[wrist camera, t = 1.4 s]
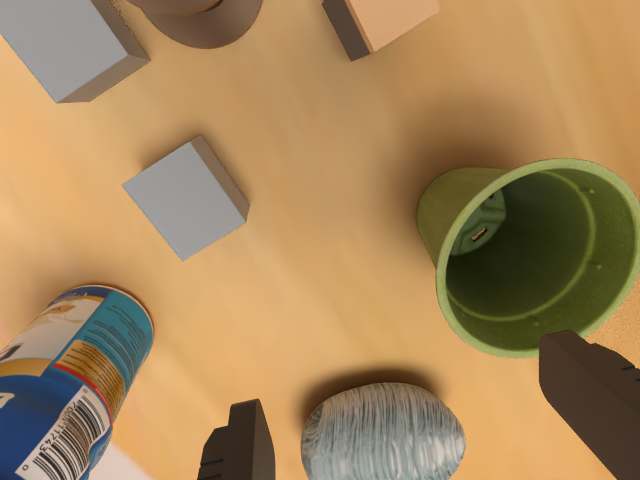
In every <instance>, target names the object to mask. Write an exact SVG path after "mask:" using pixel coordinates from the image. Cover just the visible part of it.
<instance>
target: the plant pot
mask: <svg viewBox="0 0 640 480" xmlns="http://www.w3.org/2000/svg"><path fill="white" fill-rule="evenodd" d="M493 193H494V196H493V198H489V196H490V195H491V194H493ZM497 207H499V208H497ZM417 226H418V230H419V232H420V235H421V237H422V240H423V242H424V244H425V246H426V248H427V251H428V253H429V255H430V257H431V259H432V262H433V264H434V266H435V268H436V292H437V297H438V302H439V305H440V308H441V310H442V313H443V315H444V317H445V319H446V321H447V322H448V324H449V325H450V327H451V328H452V330H453V331H454V332H455V333H456V334H457V335H458V336H459V337H460V338H461V339H462V340H463V341H465V342H466V343H467V344H469V345H470V346H472V347H474V348H475V349H477V350H479V351H481V352H484V353H487V354H490V355H494V356H497V357H503V358H533V357H539V339H540V337H541V336H542V335H545V334H550V333H554V332H559V331H563V330H568V329H569V330H572V331H574V332H575V333H577V334H578V335H579V336H580V337H582V338H583V339H584V338H585V337H587V336H588V335H590V334H591V333H593V332H594V331H595V330H597V329H598V328H599V327H600V326H601V325H603V324H604V323H605V322H606V321H607V320H608V319H609V318H610V317H611V316H612V315H613V314H614V313H615V312H616V311H617V309H618V308H619V307H620V306H621V304H622V303H623V301H624V300H625V299H626V297H627V296H628V294H629V293H630V291H631V289H632V287H633V285H634V283H635V281H636V279H637V276H638V274H639V272H640V203H639V201H638V199H637V197H636V195H635V193H634V192H633V190H632V189H631V188H630V186H629V185H628V184H627V183H626V182H625V181H624V180H623V179H622V178H621V177H620V176H618V175H617V174H616V173H614V172H613V171H611V170H609V169H608V168H606V167H604V166H602V165H599V164H597V163H594V162H591V161H587V160H581V159H573V158H554V159H546V160H540V161H535V162H532V163H529V164H525V165H523V166H520V167H518V168H515V169H501V168H480V167H463V168H457V169H453V170H450V171H448V172H446V173H444V174H442V175H440V176H439V177H437V178H436V179H435V180H434V181H433V182H432V183H431V184H430V185H429V186H428V187H427V189H426V190H425V191H424V193H423V195H422V197H421V199H420V201H419V205H418V211H417ZM484 227H486V229H487V231H486V233H485V234H484V235H483V236H482V237H480V238H479V239H478V240H477V241H475V242H473V240H472V239H471V238H472V237H473V236H475V235H477V234H478V233H479V232H480V231H481V230H482V229H483V228H484ZM461 247H462V248H461Z"/></svg>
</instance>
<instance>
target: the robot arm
mask: <svg viewBox="0 0 640 480" xmlns="http://www.w3.org/2000/svg"><path fill="white" fill-rule="evenodd" d="M539 383H540V387H541V390H542V392H543V394H544V396H545V398H546V399H547V401H548V402H549V403H550V405H551V406H552V407H553V408H554V409H555V410H556V411H557V412H558V414H559V415H560V416H561V417H562V418H563V419H564V420H565V421H566V423H567V424H568V425H569V426H570V427H571V428H572V429H573V430H574V432H575V433H576V434H577V435H578V436H579V437H580V438H581V439H582V441H583V442H584V443H585V444H586V445H587V446H588V447H589V449H590V450H591V451H592V452H593V453H594V454H595V455H596V456H597V458H598V459H599V460H600V461H601V462H602V463H603V464H604V465H605V467H606V468H607V469H608V470H609V471H610V472H611V473H612V474H613V476H614V477H615V478H616V479H617V480H640V369H638V368H635V366H634V365H633V364H632V363H630V362H629V361H628V360H627V359H625V358H624V357H623V356H621V355H620V354H619V353H617V352H615V351H613V350H610V349H608V348H606V347H603V346H601V345H599V344H596V343H594V344H589V343H588V342H587V341H585V340H584V339H583V338H582V337H580V336H579V335H578V334H577V333H575V332H574V331H572V330H569V329H568V330H563V331H559V332H554V333H550V334H545V335H542V336H541V337H540V339H539ZM200 465H201V468H199V473H198V478H197V480H275V454H274V448H273V443H272V439H271V435H270V432H269V429H268V425H267V422H266V419H265V415H264V412H263V409H262V405H261V402H260V400H259V399H253V400H249V401H244V402H240V403H236V404H232V405H231V408H230V415H229V422H228V426H224V427H220V428H216V429H214V431H213V432H212V434H211V435H210V437H209V439H208V440H207V442H206V443H205V445H204V448H203V453H202V458H201V463H200Z"/></svg>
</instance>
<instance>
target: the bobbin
mask: <svg viewBox="0 0 640 480" xmlns="http://www.w3.org/2000/svg"><path fill="white" fill-rule="evenodd" d="M127 1H128V2H130V3H131V4H133V5H135V6H137V7H139V8H141V9H142V11H143V13H144V14H145V15H146V17H147V18H148V19H149V20H150V21H151V22H152V24H153V25H154V26H155V27H156V28H158V29H159V30H160V31H161V32H162V33H164V34H165V35H167V36H168V37H170V38H172V39H173V40H175V41H177V42H179V43H181V44H184V45H187V46H190V47H194V48H201V49H212V48H218V47H222V46H225V45H228V44H230V43H232V42H234V41H236V40H237V39H238V38H240V37H241V36H242V35H243V34H244V33H245V32H246V31H247V30H248V29H249V28H250V27H251V25H252V24H253V23H254V21H255V19H256V17H257V15H258V13H259V10H260V8H261V4H262V0H127Z"/></svg>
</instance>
